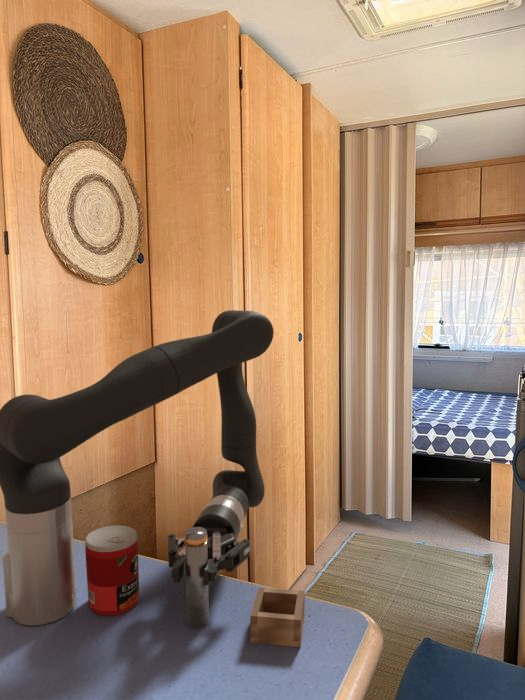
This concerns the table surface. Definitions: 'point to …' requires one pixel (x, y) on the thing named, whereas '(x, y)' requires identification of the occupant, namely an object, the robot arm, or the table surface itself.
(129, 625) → the table surface
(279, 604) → the wooden masu cup
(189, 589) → the cylinder
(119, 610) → the canned food
